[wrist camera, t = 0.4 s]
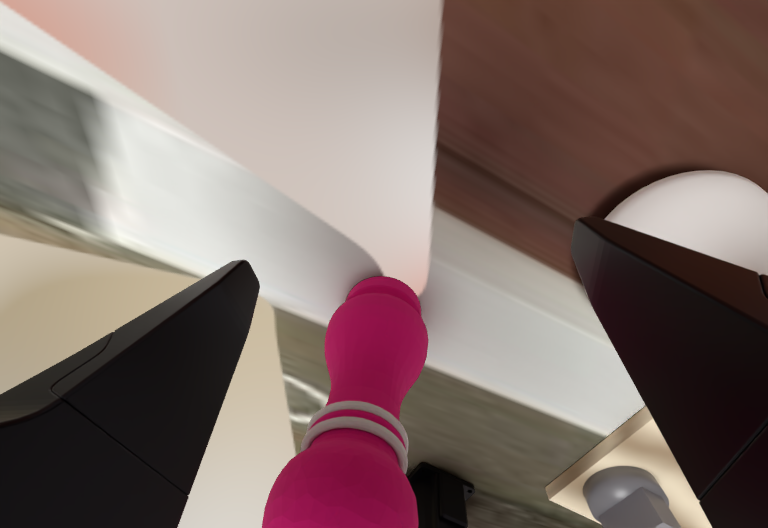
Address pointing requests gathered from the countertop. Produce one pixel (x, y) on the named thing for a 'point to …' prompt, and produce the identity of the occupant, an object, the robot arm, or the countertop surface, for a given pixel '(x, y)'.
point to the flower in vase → (703, 215)
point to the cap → (628, 499)
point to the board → (639, 449)
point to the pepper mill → (359, 419)
